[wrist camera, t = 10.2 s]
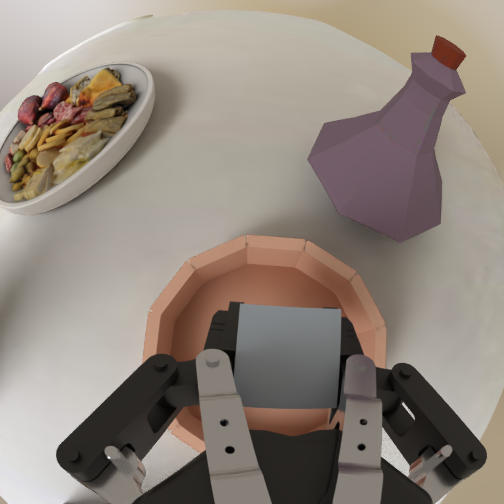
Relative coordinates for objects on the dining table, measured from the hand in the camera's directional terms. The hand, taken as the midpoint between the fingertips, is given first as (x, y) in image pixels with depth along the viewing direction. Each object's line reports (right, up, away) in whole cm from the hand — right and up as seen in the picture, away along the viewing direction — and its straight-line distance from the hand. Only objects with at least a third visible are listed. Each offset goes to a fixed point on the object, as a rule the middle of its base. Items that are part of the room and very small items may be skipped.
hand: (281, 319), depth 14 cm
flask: (+12, +10, +15) cm, 22 cm away
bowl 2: (0, -5, +9) cm, 10 cm away
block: (0, -3, +4) cm, 5 cm away
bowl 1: (-29, +21, +19) cm, 41 cm away
